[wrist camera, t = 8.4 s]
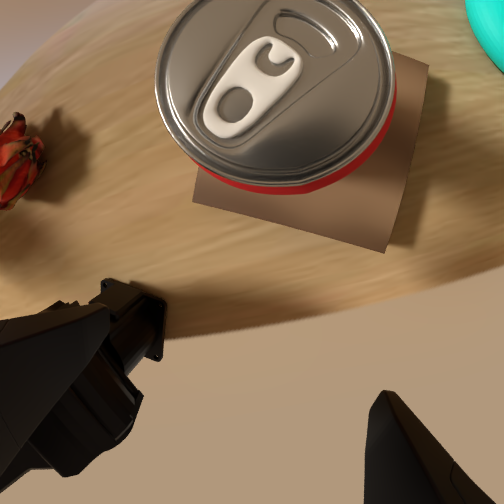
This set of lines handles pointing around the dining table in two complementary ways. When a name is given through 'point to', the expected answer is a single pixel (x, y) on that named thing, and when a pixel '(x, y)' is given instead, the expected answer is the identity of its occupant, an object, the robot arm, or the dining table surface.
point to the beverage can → (276, 90)
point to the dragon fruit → (18, 161)
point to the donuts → (488, 27)
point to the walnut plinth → (344, 180)
